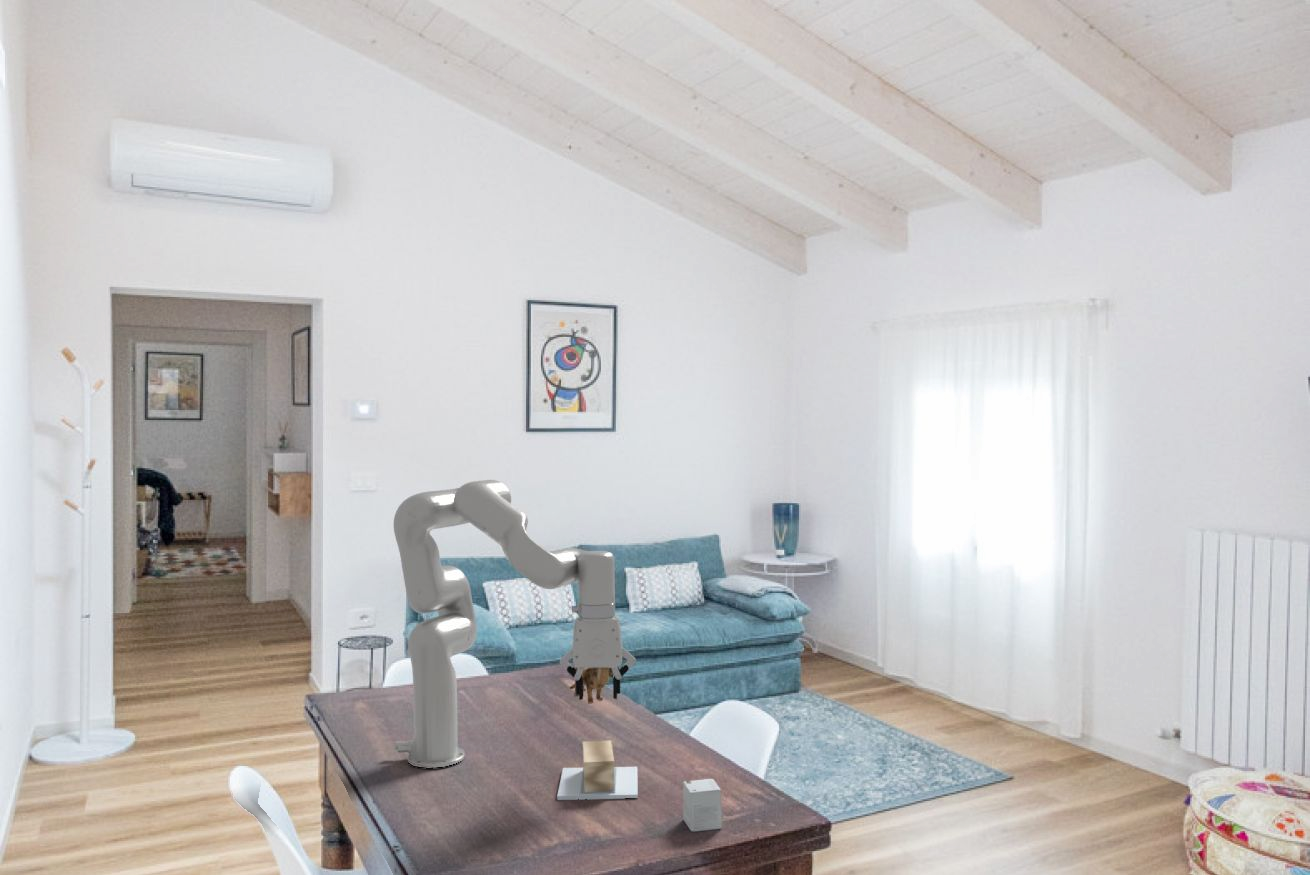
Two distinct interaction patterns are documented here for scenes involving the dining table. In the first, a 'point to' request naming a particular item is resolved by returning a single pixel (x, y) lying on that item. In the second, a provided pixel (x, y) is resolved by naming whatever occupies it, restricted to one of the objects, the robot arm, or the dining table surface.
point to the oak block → (598, 766)
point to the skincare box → (702, 805)
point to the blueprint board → (574, 790)
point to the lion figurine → (594, 681)
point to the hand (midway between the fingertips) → (598, 696)
